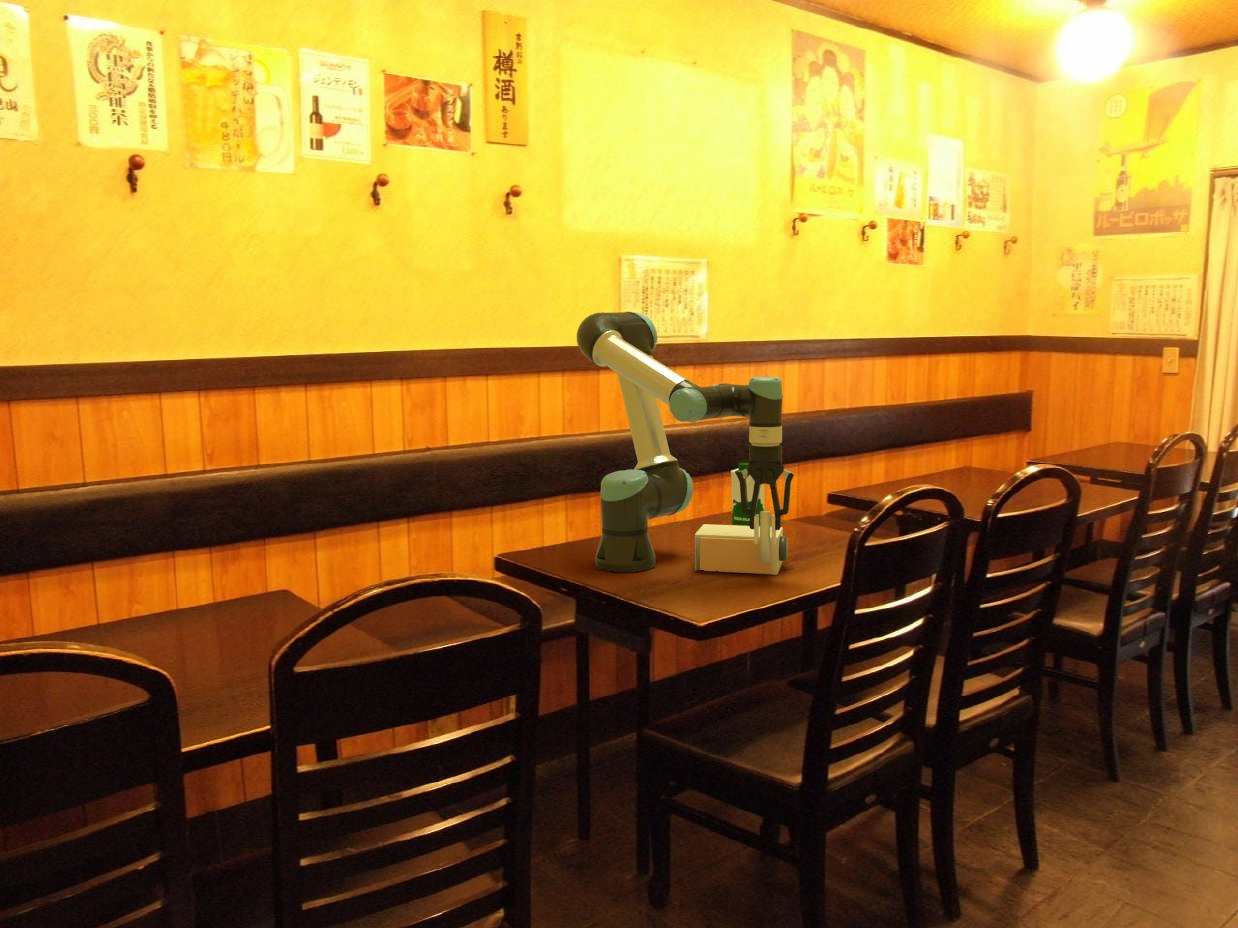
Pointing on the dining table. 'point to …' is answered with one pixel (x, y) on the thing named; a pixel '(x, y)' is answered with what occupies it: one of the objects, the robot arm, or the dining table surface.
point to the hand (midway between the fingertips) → (765, 542)
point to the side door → (736, 552)
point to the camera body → (744, 532)
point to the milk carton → (737, 514)
